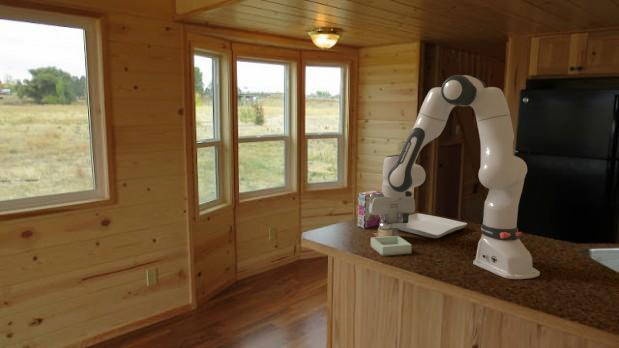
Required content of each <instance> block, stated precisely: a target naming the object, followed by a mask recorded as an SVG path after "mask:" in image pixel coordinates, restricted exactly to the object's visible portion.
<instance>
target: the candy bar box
mask: <svg viewBox="0 0 619 348" xmlns="http://www.w3.org/2000/svg"><path fill="white" fill-rule="evenodd" d="M373 193H382V191H378V190H370V191H364V192H358V196H357V197H358V199H357V222H356V223H357V224H356V227H358V228H360V229H363V230H365V229H369V228H374V227H377V226H378V227H379V223H380V222H381V220H380V217H379V215H372V214H371V213H370V212H369V204H370V201H369V197H370V195H372V194H373ZM372 196H373V195H372Z"/></svg>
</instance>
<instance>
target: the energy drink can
mask: <svg viewBox="0 0 619 348" xmlns="http://www.w3.org/2000/svg"><path fill="white" fill-rule="evenodd" d="M397 205H398V204H392V205H390V207H389V208H388V214H385V216H384V220H386V222H389V223H390V222H398V221H399V216H400V214H399V207H398V206H397ZM392 229H393V230H392V236H399V230H398V228H392Z"/></svg>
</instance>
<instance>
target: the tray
mask: <svg viewBox="0 0 619 348" xmlns="http://www.w3.org/2000/svg"><path fill="white" fill-rule="evenodd" d="M370 246H371V248H372V249H374V250H375V251H376V252H377V253H379V255H380V256H382V257H386V256H387V257H388V256H396V255H407V254H412V244H411V243H410V242H408V241H407V240H406V239H404V238H402V237H401V236H400V235H398V236H385V237H376V236H374V237H370Z"/></svg>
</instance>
